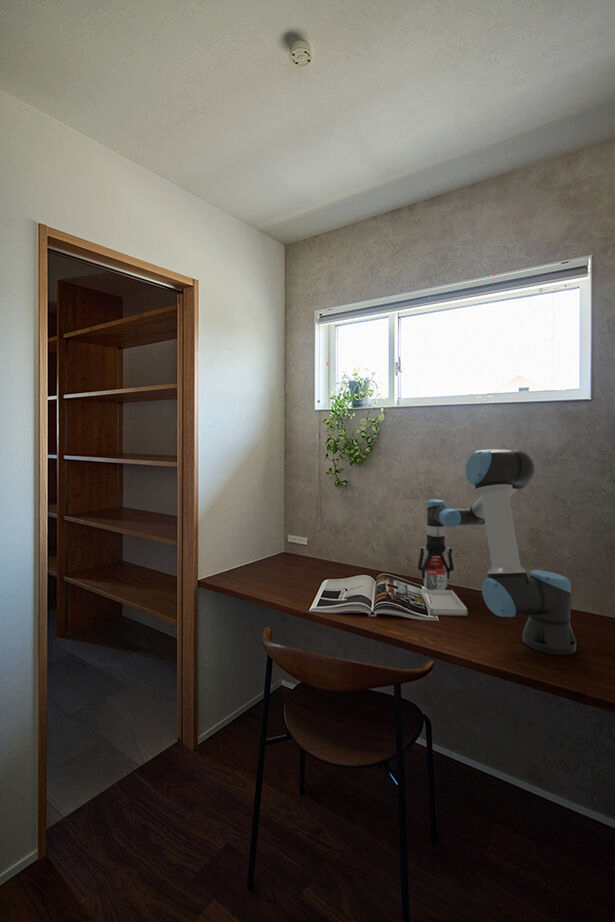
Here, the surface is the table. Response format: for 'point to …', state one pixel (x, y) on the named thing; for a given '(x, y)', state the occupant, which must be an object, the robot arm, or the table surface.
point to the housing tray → (444, 603)
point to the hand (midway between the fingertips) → (435, 585)
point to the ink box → (435, 575)
